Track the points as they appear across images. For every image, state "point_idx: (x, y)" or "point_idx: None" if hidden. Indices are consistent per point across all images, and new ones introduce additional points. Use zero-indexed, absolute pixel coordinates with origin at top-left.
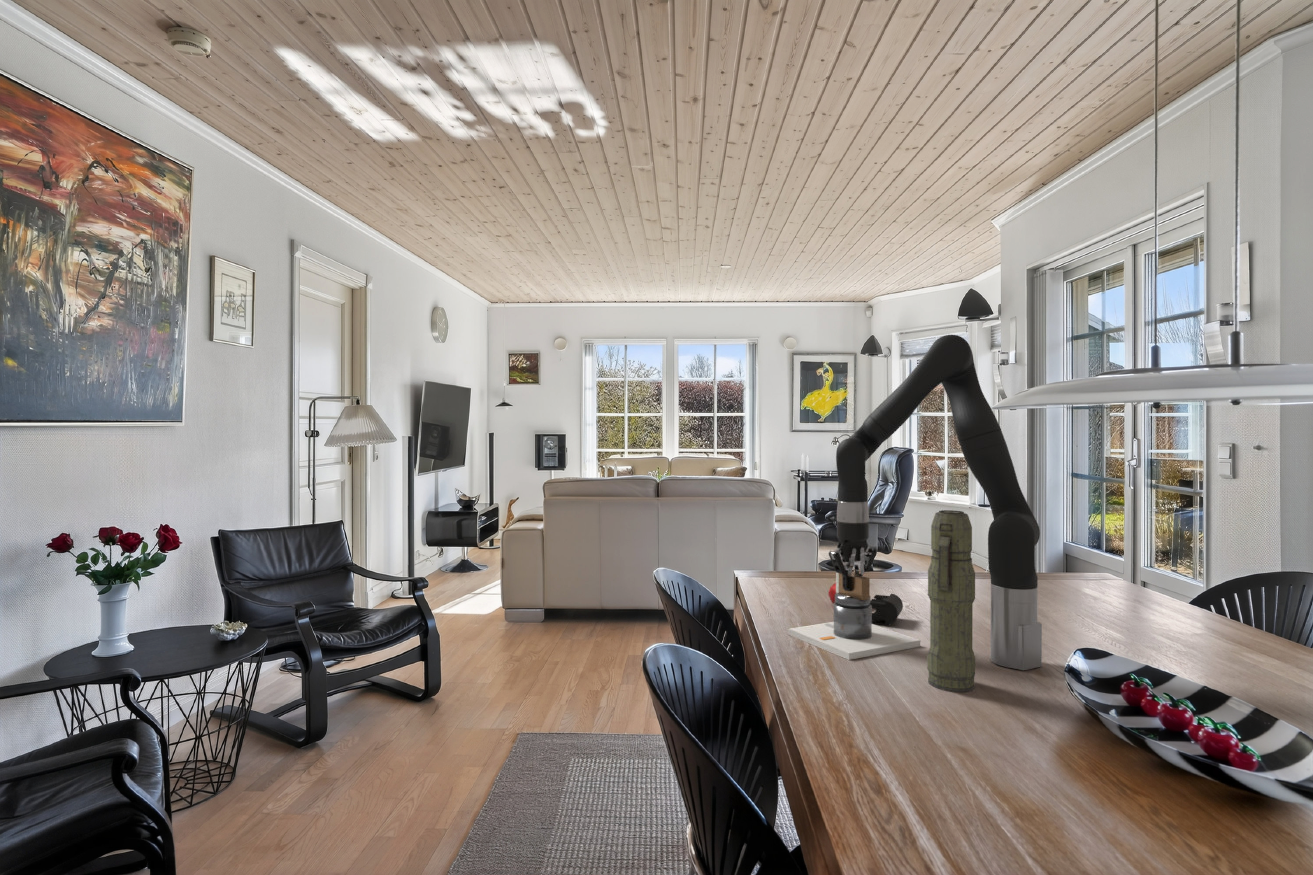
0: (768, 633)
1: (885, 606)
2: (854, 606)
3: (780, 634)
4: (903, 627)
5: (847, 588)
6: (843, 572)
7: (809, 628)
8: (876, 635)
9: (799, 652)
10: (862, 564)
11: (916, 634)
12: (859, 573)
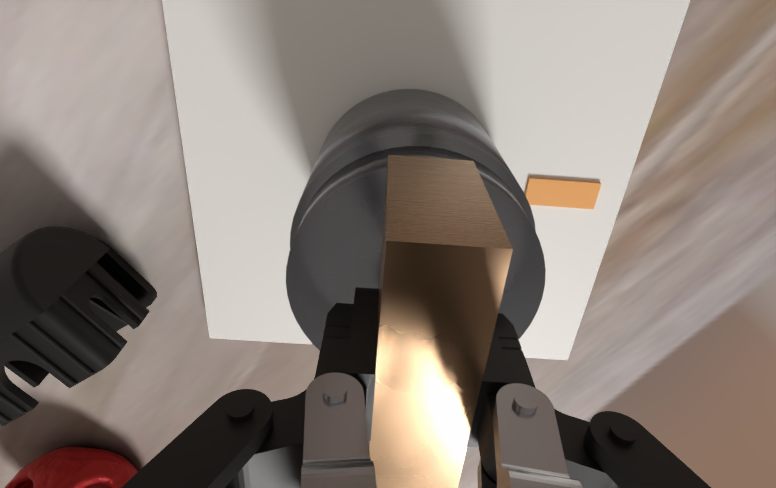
0: (603, 382)
1: (60, 295)
2: (499, 178)
3: (580, 357)
4: (40, 192)
5: (499, 316)
6: (630, 428)
7: None
8: (317, 105)
9: (742, 164)
10: (347, 467)
11: (44, 78)
12: (359, 398)
